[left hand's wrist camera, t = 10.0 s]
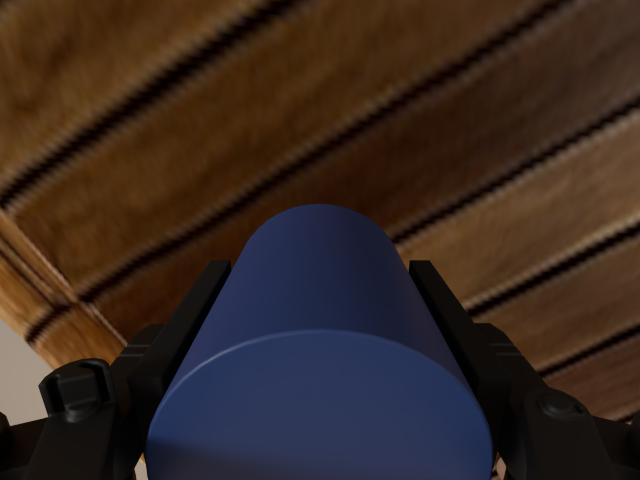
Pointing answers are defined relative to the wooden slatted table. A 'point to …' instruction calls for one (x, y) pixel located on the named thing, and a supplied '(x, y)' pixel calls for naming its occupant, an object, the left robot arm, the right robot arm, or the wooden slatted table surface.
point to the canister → (319, 368)
